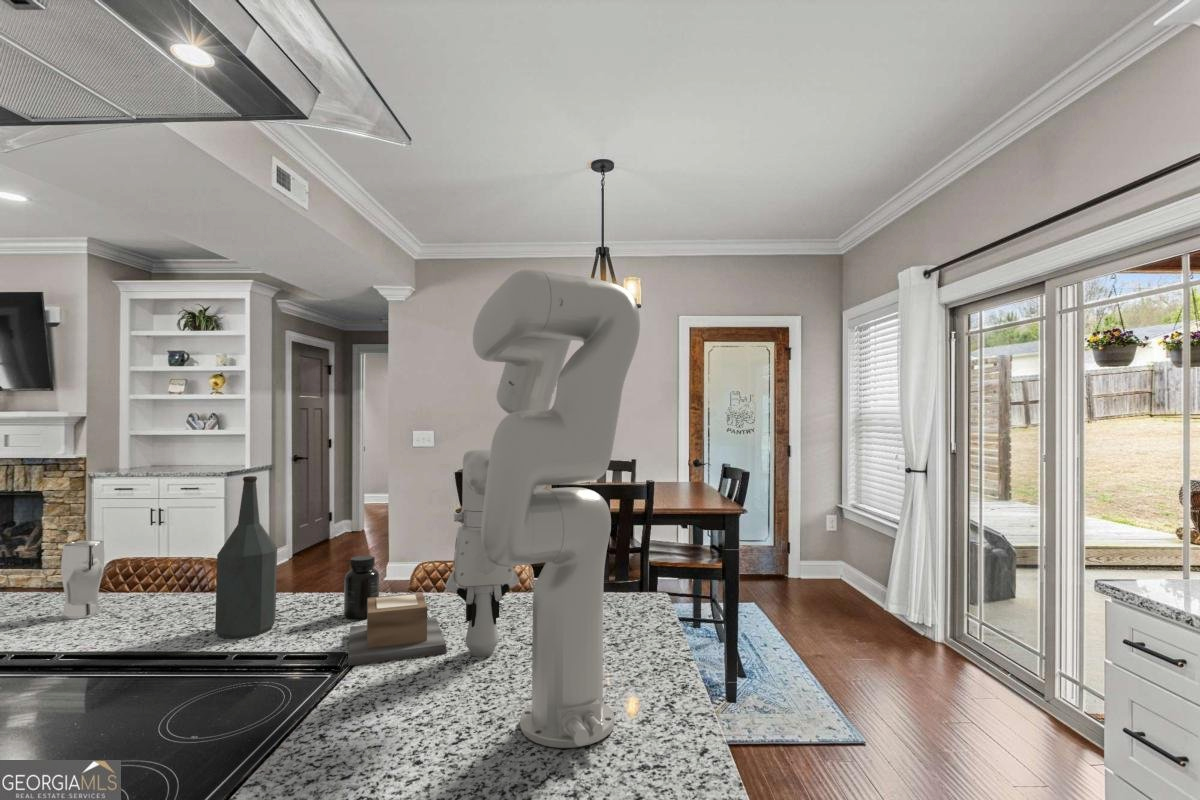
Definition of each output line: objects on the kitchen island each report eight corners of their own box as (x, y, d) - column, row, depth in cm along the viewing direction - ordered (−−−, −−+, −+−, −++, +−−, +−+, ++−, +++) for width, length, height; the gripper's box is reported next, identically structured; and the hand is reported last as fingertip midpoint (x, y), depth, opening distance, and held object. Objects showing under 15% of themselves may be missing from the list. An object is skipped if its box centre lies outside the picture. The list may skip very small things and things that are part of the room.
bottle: (270, 635, 115) (274, 477, 117) (210, 642, 112) (215, 479, 113) (277, 619, 125) (281, 473, 126) (222, 625, 121) (226, 474, 123)
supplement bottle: (372, 608, 133) (373, 553, 133) (383, 616, 127) (384, 558, 128) (339, 614, 128) (340, 557, 129) (349, 622, 123) (351, 563, 124)
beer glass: (50, 618, 125) (53, 545, 126) (87, 608, 132) (90, 539, 132) (74, 621, 123) (77, 547, 124) (110, 611, 130) (113, 541, 130)
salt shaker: (502, 647, 110) (503, 574, 110) (493, 659, 104) (494, 582, 105) (471, 646, 110) (471, 573, 111) (460, 658, 105) (461, 581, 105)
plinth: (446, 653, 107) (446, 608, 107) (347, 665, 101) (348, 619, 101) (436, 625, 122) (436, 586, 122) (349, 634, 116) (350, 594, 116)
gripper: (439, 525, 102) (437, 636, 101) (533, 519, 108) (532, 624, 107) (434, 518, 109) (432, 622, 108) (523, 513, 115) (522, 612, 114)
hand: (482, 622), depth 107 cm, fingers closed on salt shaker, 3 cm apart
